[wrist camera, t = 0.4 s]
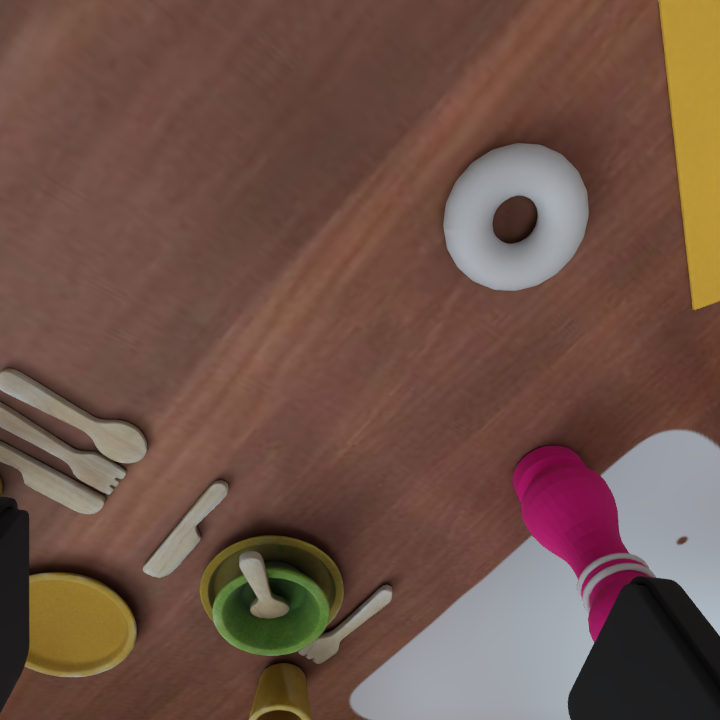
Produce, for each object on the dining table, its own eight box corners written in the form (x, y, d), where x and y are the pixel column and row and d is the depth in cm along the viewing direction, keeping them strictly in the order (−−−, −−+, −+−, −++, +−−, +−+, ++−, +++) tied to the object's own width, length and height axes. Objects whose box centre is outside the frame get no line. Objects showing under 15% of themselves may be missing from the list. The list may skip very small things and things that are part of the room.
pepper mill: (601, 479, 51) (760, 690, 32) (531, 521, 52) (645, 745, 34) (564, 424, 48) (714, 620, 30) (491, 469, 49) (591, 683, 31)
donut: (590, 250, 42) (557, 115, 38) (612, 262, 39) (578, 117, 35) (464, 302, 43) (418, 177, 39) (475, 319, 40) (427, 185, 36)
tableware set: (411, 590, 54) (422, 647, 49) (241, 744, 62) (233, 810, 56) (-4, 340, 42) (-56, 378, 36) (-154, 573, 49) (-216, 635, 44)
